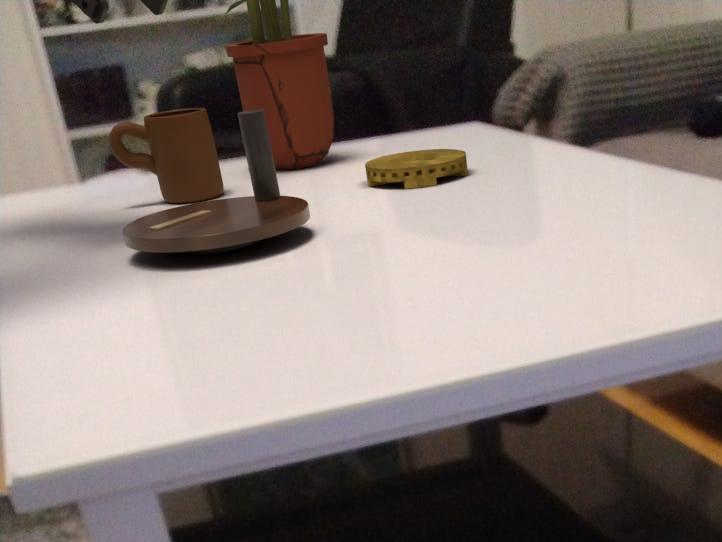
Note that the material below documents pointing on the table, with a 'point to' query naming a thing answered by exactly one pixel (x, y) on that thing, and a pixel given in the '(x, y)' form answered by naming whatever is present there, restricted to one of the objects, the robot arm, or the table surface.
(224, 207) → the stand with round base
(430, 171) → the yellow flat disc
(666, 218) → the table surface
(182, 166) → the mug
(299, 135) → the potted plant
